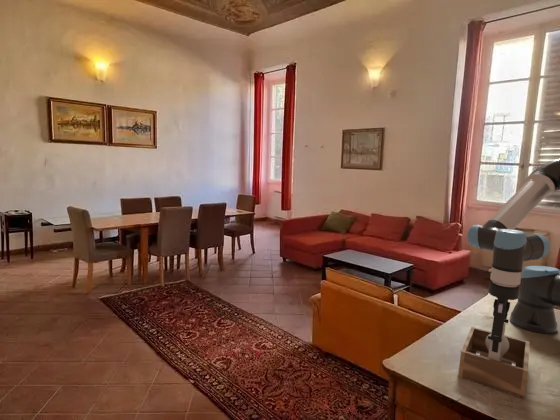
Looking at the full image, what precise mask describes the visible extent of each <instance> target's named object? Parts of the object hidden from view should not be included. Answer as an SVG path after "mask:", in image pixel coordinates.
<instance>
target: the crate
mask: <svg viewBox="0 0 560 420" xmlns="http://www.w3.org/2000/svg"><path fill="white" fill-rule="evenodd" d="M491 333H492V331H490V330H486V329H483V328H478V327H474V326H471V327H470V329H469V331H468V334H467V336H466V339H465V341H464V344H463V346H462V349H461V351H460V355H459V356H460V358H459V365H458V366H459V368H458V375H457V376H458V377H459V378H462V379H464V380H466V381H467V380H468V381H470V382H473V383H477V384H480V385H483V386H485V387H488V388H491V389H495V390H497V391H501V392H503V393H506V394H509V395H512V396H515V397H518V398H521V399H525V394H526V388H527V381H528V373H529V359H530V358H529V357H530V343H531V342H530V341H528V340H524V339H521V338H516V337H512V336H509V335H506V334H504V336H505V337H506V338H507V340H508V342H509V349H508V351H507V352H506V353H505V354H504V355H503V357H502V359H501V362H500V361H497V360H493V359H490V358H488V355H489V352H488V349H487V347H486V343H485V340H486V337H487V336H488V335H489V334H491Z"/></svg>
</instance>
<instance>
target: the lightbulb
mask: <svg viewBox="0 0 560 420" xmlns="http://www.w3.org/2000/svg"><path fill="white" fill-rule="evenodd" d="M488 336H491V334H489V335H488ZM488 336H487V337H486V340H485V343H486V347H487V349H488V352H489V347H490V339H488ZM497 337H498V336H497ZM508 349H509V342H508V340H507V338H506V337H505V336H503V335H502V344H501V352H500V360H499V361H500V362H501V359H502V357H503V355H504V354H505V353H506V352H507V351H508Z"/></svg>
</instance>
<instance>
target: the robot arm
mask: <svg viewBox="0 0 560 420" xmlns="http://www.w3.org/2000/svg"><path fill="white" fill-rule="evenodd" d="M557 191H560V158H559V157H558V158H556V159H553V160H550V161H548V162H546V163H544V164H542V165H541V166H538V167H537V168H535V169H534V170H533V171H532V172H531V173H530V174H528V176H527V177H526V178H525V180H524V184H523V185H521V187H520V188H519V189H518V190H517V191H516V192H515V193H514V194H513V195H512V196H511V197H510V198H509V199H508V200H507V201H506V202H505V203H504V204H503V205H502V206H501V207H500V208H499V209H498V210H497V211H496V212H495V213H494V214H493V215H492V216H491V217H490V218H489V220H487V221H486V222H485V223H484V224H483V225H481V224H473V225H472V226H470V227H469V228H468V231H467V234H466V239H467V242H468V244H469V245H470V246H471V247H475V248H479V249H480V250H486V251H490V252H492V262H491V268H489V269H488V272H489V273H490V276H489V277H490V278H489V279H490V281H489V283H488V294H490V295H491V296H492V297H495V299H494V302H493V305H492V306H493V311H492V317H493V321H492V325H491V326H492V327H491V332H492V333H491V336H488V339H490V347H489V355H488V358H490V359H493V360H497V361H499V360H500V352H501V344H502V335H503V336H504V335H505V332H506V325H507V324H509V320H510V322H511V324H513V325H514V326H517V327H519V328H521V329H524V330H527V331H530V332H533V333H540V334H555V333H556V332H558V331H557V330H558V322H557V321H556V320H557V319H556V318H557V317H556V314H555V313H556V312H555V307H558V308H560V269H559V268H557V267H552V266H547V265H546V266H545V265H528V266H524V267H523V265H524V262H528V261H536V260H540V259H541V258H545V257H546V256H548V255H549V253H550V251H551V242H550V241H549V240H548V238H547V237H546V236H544V235H543V234H538V233H526V232H524V231H521V230H519V229H516V228H517V227H518V226H519V225H520V224H521V223H522V222H523V220H524V219H525V218H527V216H528V215H529V214H530V213H531V212H532V211H533V210H534V209H535V208H536V207H537V206H538V205H539V204H540V203H541V202H542V201H543V200H544V198H545V197H549V196H551V195H553V194H554V193H555V192H557ZM514 300H515V301H516V300H517V302H516V304H515V306H514V307H513V310H512V311H511V313H510V316H509V319H507V318H508V313H509V311H510V308H511V302H510V301H514ZM497 336H498V337H497Z"/></svg>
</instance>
